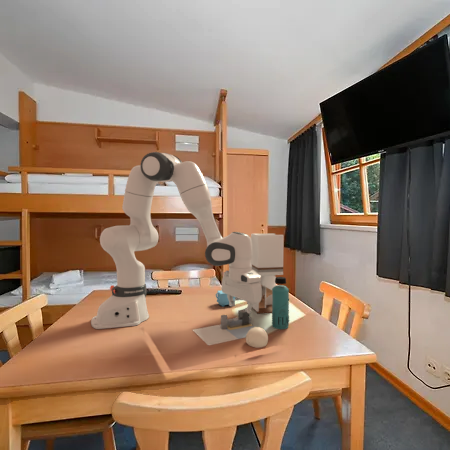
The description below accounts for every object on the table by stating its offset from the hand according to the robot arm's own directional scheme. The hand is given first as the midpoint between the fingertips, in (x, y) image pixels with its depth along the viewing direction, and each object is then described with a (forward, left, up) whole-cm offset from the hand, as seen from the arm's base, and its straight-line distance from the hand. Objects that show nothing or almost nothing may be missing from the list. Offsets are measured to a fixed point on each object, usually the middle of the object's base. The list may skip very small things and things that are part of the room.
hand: (239, 309), depth 113 cm
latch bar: (-2, -2, -5) cm, 6 cm away
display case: (+19, +9, -7) cm, 22 cm away
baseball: (-5, -19, -7) cm, 21 cm away
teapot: (+9, +27, -7) cm, 29 cm away
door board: (-8, -6, -7) cm, 12 cm away
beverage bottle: (+12, -10, -7) cm, 17 cm away
